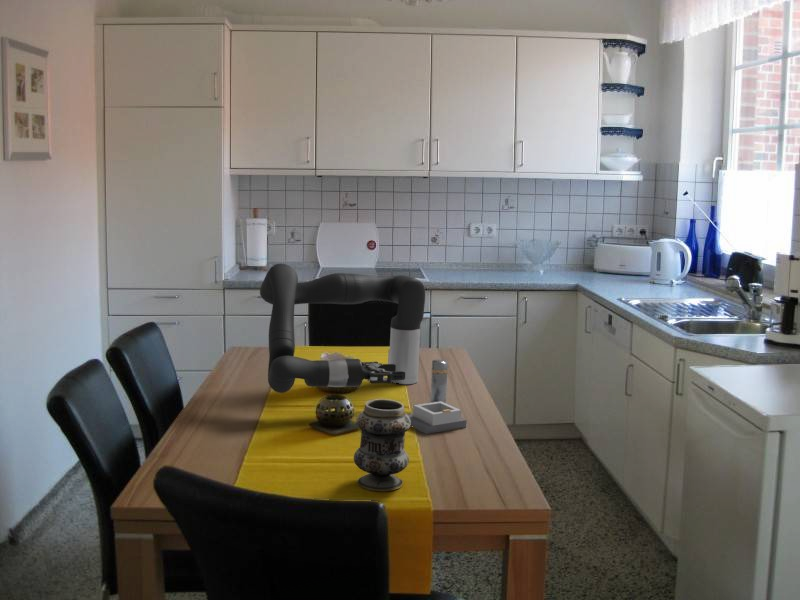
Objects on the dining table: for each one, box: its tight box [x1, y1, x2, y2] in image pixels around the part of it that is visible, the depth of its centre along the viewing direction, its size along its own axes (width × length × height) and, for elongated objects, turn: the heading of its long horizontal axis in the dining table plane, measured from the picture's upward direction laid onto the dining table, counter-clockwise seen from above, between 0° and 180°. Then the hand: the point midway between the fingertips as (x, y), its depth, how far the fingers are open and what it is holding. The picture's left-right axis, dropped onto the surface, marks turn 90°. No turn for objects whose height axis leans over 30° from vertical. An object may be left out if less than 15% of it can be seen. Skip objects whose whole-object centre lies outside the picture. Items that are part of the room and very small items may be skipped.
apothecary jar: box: [353, 398, 411, 492], centre depth 191 cm, size 12×12×18 cm
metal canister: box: [429, 359, 449, 404], centre depth 249 cm, size 5×5×14 cm
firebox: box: [406, 401, 468, 435], centre depth 235 cm, size 11×13×6 cm
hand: (400, 371), depth 244 cm, fingers open, 8 cm apart
